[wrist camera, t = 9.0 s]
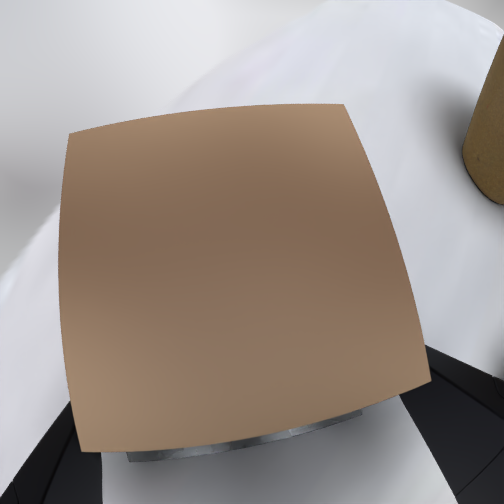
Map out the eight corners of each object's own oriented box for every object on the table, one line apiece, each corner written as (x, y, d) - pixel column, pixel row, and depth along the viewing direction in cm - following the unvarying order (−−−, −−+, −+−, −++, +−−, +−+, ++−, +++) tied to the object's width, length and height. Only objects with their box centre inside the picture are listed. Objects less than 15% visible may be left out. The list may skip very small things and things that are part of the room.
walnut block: (277, 369, 16) (431, 381, 4) (182, 385, 15) (82, 452, 3) (259, 278, 18) (343, 104, 5) (167, 292, 17) (69, 133, 5)
